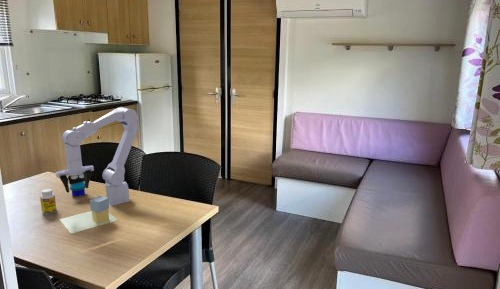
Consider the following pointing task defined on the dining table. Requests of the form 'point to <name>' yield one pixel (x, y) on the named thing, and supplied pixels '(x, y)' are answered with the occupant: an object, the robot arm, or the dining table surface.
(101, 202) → the blue brick
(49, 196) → the supplement bottle
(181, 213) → the dining table surface
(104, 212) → the mustard brick
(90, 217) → the baseplate
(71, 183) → the toy
